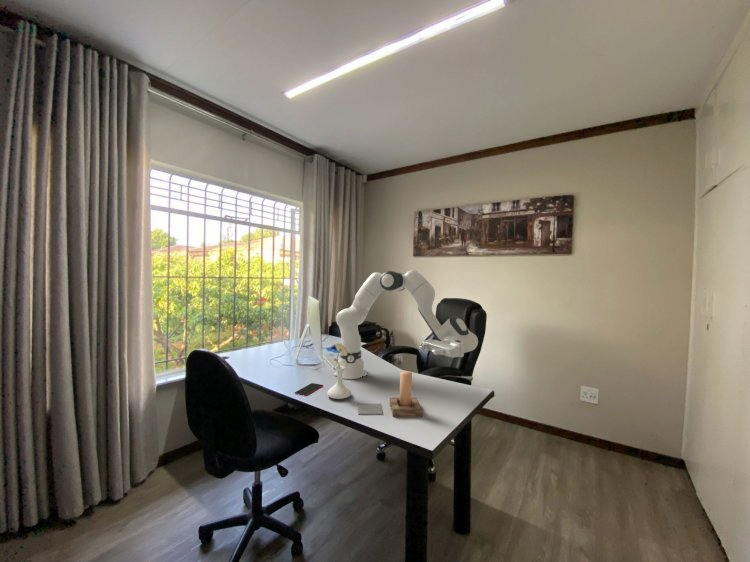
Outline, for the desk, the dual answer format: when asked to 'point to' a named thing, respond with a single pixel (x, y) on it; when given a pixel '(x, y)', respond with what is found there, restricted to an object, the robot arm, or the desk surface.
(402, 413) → the holder
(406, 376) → the peg
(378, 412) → the mat
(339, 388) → the flower in vase
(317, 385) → the smartphone
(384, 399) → the desk surface
